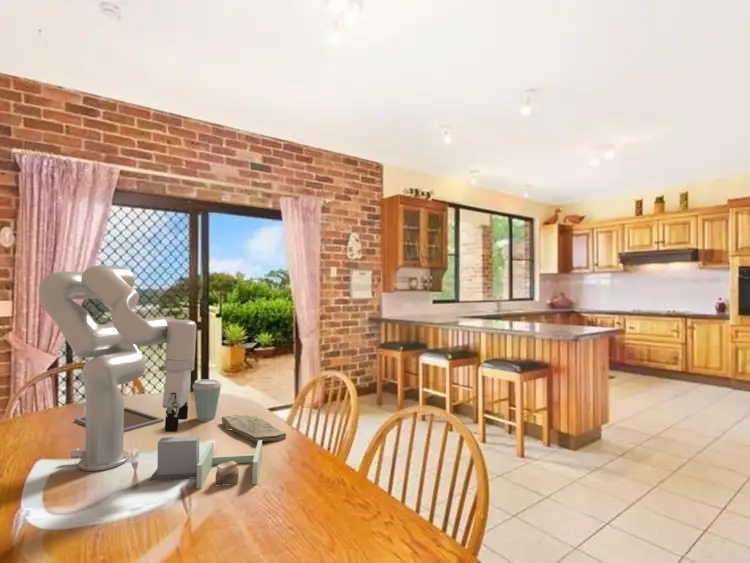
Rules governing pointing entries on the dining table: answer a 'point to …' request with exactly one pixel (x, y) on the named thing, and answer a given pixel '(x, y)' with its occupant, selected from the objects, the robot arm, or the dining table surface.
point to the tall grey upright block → (178, 455)
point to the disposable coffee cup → (206, 398)
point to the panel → (171, 476)
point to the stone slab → (253, 428)
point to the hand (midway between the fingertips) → (176, 425)
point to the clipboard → (132, 419)
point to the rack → (210, 459)
